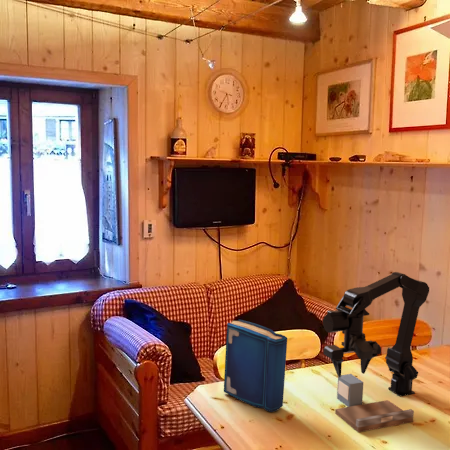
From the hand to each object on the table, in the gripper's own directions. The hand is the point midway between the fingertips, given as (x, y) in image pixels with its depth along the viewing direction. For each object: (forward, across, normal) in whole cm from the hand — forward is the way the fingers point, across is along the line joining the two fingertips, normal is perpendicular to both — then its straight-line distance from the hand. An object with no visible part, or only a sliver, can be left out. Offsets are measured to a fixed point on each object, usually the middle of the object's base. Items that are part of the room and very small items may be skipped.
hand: (351, 375), depth 170 cm
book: (+9, -30, +10) cm, 33 cm away
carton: (+9, 0, 0) cm, 9 cm away
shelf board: (+9, +1, -12) cm, 15 cm away
